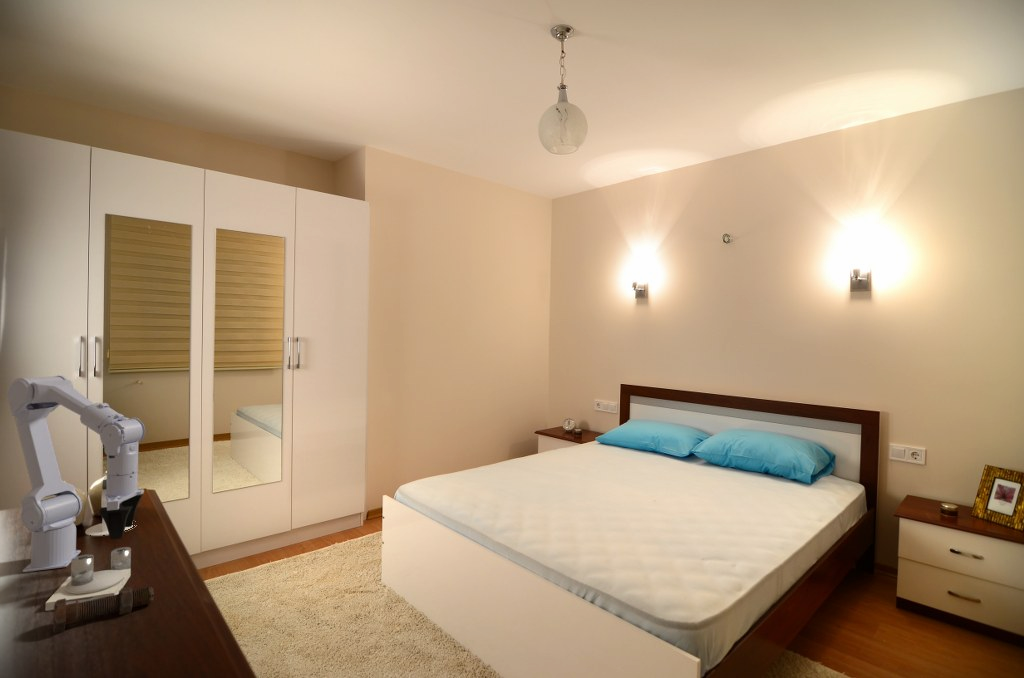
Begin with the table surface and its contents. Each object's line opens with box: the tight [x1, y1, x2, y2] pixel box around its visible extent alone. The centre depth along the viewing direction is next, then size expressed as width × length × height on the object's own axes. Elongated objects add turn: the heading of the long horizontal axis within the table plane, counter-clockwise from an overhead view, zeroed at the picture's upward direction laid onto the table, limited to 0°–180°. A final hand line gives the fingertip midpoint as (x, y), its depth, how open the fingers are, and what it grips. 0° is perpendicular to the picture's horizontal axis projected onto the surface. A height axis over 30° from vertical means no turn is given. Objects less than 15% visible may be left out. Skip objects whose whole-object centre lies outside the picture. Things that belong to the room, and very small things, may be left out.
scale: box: [44, 568, 132, 612], centre depth 109 cm, size 12×11×2 cm
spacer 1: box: [70, 554, 95, 586], centre depth 109 cm, size 4×4×5 cm
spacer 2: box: [110, 546, 132, 570], centre depth 119 cm, size 4×4×5 cm
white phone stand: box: [85, 474, 136, 537], centre depth 145 cm, size 12×11×15 cm
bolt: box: [52, 586, 155, 634], centre depth 100 cm, size 6×5×15 cm
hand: (121, 532), depth 119 cm, fingers open, 7 cm apart
